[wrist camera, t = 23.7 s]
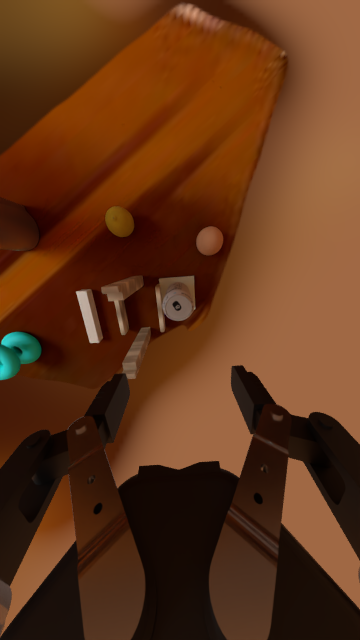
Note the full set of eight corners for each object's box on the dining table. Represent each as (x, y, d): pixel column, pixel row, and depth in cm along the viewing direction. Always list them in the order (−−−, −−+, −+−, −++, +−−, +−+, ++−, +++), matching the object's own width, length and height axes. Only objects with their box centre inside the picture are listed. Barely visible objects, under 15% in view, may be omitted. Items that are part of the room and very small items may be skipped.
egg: (191, 251, 41) (194, 249, 33) (199, 226, 39) (205, 217, 31) (212, 259, 42) (221, 258, 34) (221, 235, 40) (232, 228, 32)
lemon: (113, 211, 38) (98, 198, 30) (138, 214, 38) (128, 203, 31) (114, 237, 40) (99, 232, 32) (137, 240, 40) (127, 235, 33)
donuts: (19, 380, 41) (-19, 384, 42) (49, 358, 51) (17, 361, 51) (1, 345, 38) (-41, 349, 38) (36, 328, 47) (2, 332, 48)
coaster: (159, 278, 43) (158, 278, 42) (193, 275, 43) (193, 276, 42) (162, 311, 46) (162, 312, 45) (195, 308, 46) (195, 309, 45)
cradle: (115, 277, 43) (71, 289, 25) (159, 274, 43) (147, 283, 25) (127, 336, 49) (98, 381, 31) (166, 334, 49) (159, 376, 31)
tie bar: (82, 289, 44) (76, 291, 41) (91, 289, 44) (86, 290, 41) (95, 338, 49) (90, 343, 46) (103, 337, 49) (98, 342, 46)
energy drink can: (174, 308, 45) (173, 329, 31) (162, 289, 43) (154, 303, 29) (193, 296, 44) (201, 313, 30) (181, 276, 42) (184, 284, 28)
